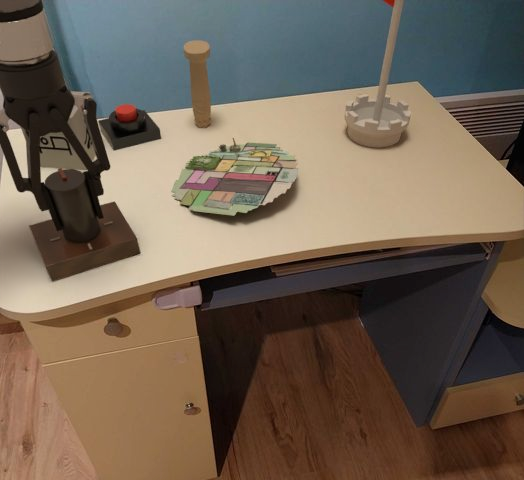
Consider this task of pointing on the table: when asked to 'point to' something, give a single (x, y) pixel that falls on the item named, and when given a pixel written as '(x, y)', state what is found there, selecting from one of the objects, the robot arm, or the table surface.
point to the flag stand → (379, 102)
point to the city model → (235, 178)
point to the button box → (129, 130)
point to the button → (126, 112)
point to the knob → (73, 205)
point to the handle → (199, 80)
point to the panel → (85, 245)
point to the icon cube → (66, 144)
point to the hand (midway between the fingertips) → (78, 219)
